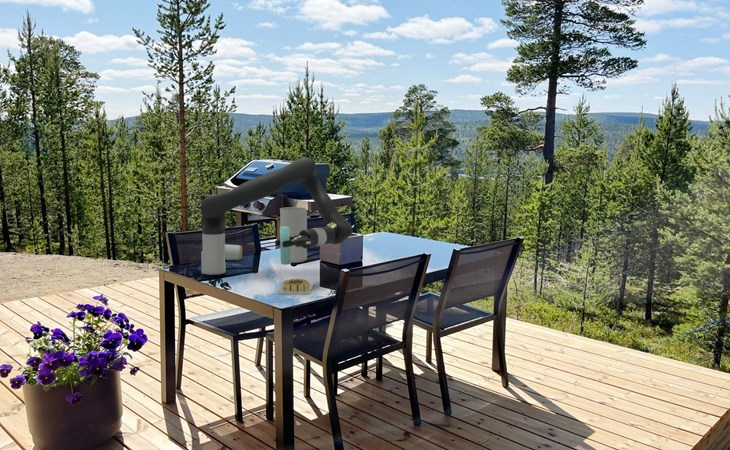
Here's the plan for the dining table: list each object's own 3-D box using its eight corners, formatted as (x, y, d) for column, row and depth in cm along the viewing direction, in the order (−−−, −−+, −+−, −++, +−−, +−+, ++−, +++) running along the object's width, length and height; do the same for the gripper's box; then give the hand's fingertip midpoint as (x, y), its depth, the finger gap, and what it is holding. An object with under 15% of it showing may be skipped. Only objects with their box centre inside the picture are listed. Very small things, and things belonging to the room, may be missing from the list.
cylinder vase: (291, 256, 270) (291, 206, 266) (312, 259, 263) (312, 208, 260) (275, 261, 259) (274, 209, 255) (296, 264, 253) (296, 210, 249)
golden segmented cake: (277, 293, 202) (277, 286, 202) (283, 285, 215) (283, 277, 215) (309, 294, 202) (309, 286, 202) (313, 285, 215) (313, 278, 214)
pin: (280, 264, 206) (278, 228, 204) (281, 262, 210) (280, 226, 207) (289, 264, 206) (288, 228, 204) (291, 262, 209) (290, 226, 207)
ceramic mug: (241, 261, 257) (241, 245, 256) (223, 261, 256) (223, 245, 255) (243, 257, 267) (242, 242, 266) (225, 257, 266) (225, 242, 265)
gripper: (300, 226, 221) (267, 232, 208) (325, 230, 212) (291, 236, 199) (300, 244, 222) (267, 251, 209) (325, 249, 213) (292, 256, 200)
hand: (279, 243), depth 204 cm, fingers closed on pin, 3 cm apart
